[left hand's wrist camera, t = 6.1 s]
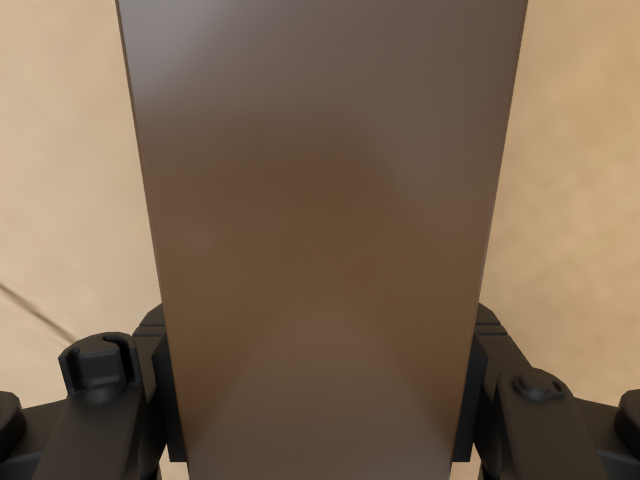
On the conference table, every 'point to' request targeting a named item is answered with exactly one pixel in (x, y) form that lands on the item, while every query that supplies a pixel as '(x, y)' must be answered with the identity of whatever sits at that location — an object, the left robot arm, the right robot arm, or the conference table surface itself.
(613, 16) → the conference table surface
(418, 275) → the beam
